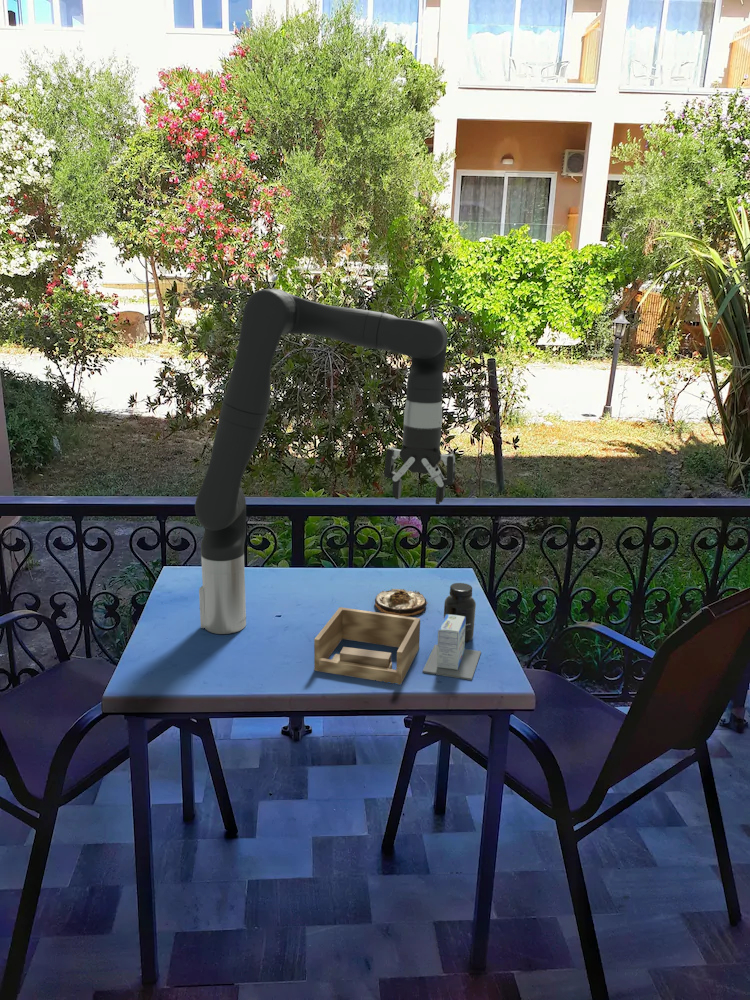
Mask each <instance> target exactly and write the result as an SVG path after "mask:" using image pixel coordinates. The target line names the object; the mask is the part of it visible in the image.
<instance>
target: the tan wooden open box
mask: <svg viewBox="0 0 750 1000" xmlns="http://www.w3.org/2000/svg"><path fill="white" fill-rule="evenodd" d="M420 633H421V618H420V617H419V618H418V617H413V616H411V617H406V616H399V615H392V614H385V613H383V612H378V611H369V610H361V609H356V608H355V609H354V608H348V607H342V606H341V607H340V606H339V607H338V608H337V610H336V611H335V612H334V614H333V615H332V616H331V618H330V619H329V620H328V621H327V622H326V623H325V625H324V626H323V628H322V629H321V630H320V631H319V633H318V634H317V635H316V637H315V638H314V639H313V641H314V643H313V644H314V645H313V647H314V656H313V657H314V660H313V661H314V662H313V663H314V667H313V668H314V669H313V670H314V671H315V672H321V673H328V674H333V675H339V676H346V677H352V678H357V679H358V678H359V679H364V680H370V681H375V680H376V681H377V682H382V681H384V683H388V682H390V683H389V684H394V683H397V684H396V685H400V684H401V685H402V683H403V682H404V680H405V678H406V675H407V673H408V671H409V670H410V667H411V666H412V663H413V662H414V659H415V657H416V656H417V654H418V651H419V649H420V639H421V638H420V636H421V634H420ZM343 640H346V641H347V640H348V641H354V642H360V643H366V644H373V645H378V646H379V645H381V646H386V647H393V648H398V649H397V651H396V669H394V668H392V669H388V668H381V667H375V666H369V665H363V664H356V663H350V662H344V661H337V660H332V658H330V657H331V656H332V654H333V653H334V651H335V650H336V648H337V647H338V646H339V644H340V643H341V642H342V641H343ZM376 681H375V682H376Z"/></svg>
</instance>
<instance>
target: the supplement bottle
mask: <svg viewBox="0 0 750 1000" xmlns="http://www.w3.org/2000/svg"><path fill="white" fill-rule="evenodd" d="M476 605H477V603H476V601H475V599H474V598H473V587H472V585H471V584H469V583H464V582H456V583H455V582H454V583H452V584H451V585H450V586H449V595H447V597H446V598H445V600H444V607H443V620H444V618H445V616H446V614H450V615H459V616H464V617H466V626H465V644H466V643H469V642H470V641H471V640H473V638H474V631H475V620H476V619H475V618H476V609H477V608H476ZM443 620H442V621H443Z"/></svg>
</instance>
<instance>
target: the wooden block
mask: <svg viewBox="0 0 750 1000" xmlns="http://www.w3.org/2000/svg"><path fill="white" fill-rule="evenodd" d="M331 660H337V661H344V662H350V663H356V664H363V665H369V666H375V667H381V668H388V669H393V662H392V652H389V651H381V650H380V651H379V650H373V649H372V650H371V649H364V648H356V647H347V646H343V647H342V649H341V650H340V652H339V653H335V654H334V655H333V657H332V658H331Z"/></svg>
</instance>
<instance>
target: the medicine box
mask: <svg viewBox="0 0 750 1000" xmlns="http://www.w3.org/2000/svg"><path fill="white" fill-rule="evenodd" d="M443 619H444V620H442V622H441V624H440V625H439V626H440V627H439V629H438V630H437V645H438V649H437V667H439V668H446V669H453V670H458V668H459V665H460V662H461V660H462V657H463V654H464V649H465V644H466V643H465V626H466V617H464V616H459V615H450V614H446V616H445V618H444V617H443Z"/></svg>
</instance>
